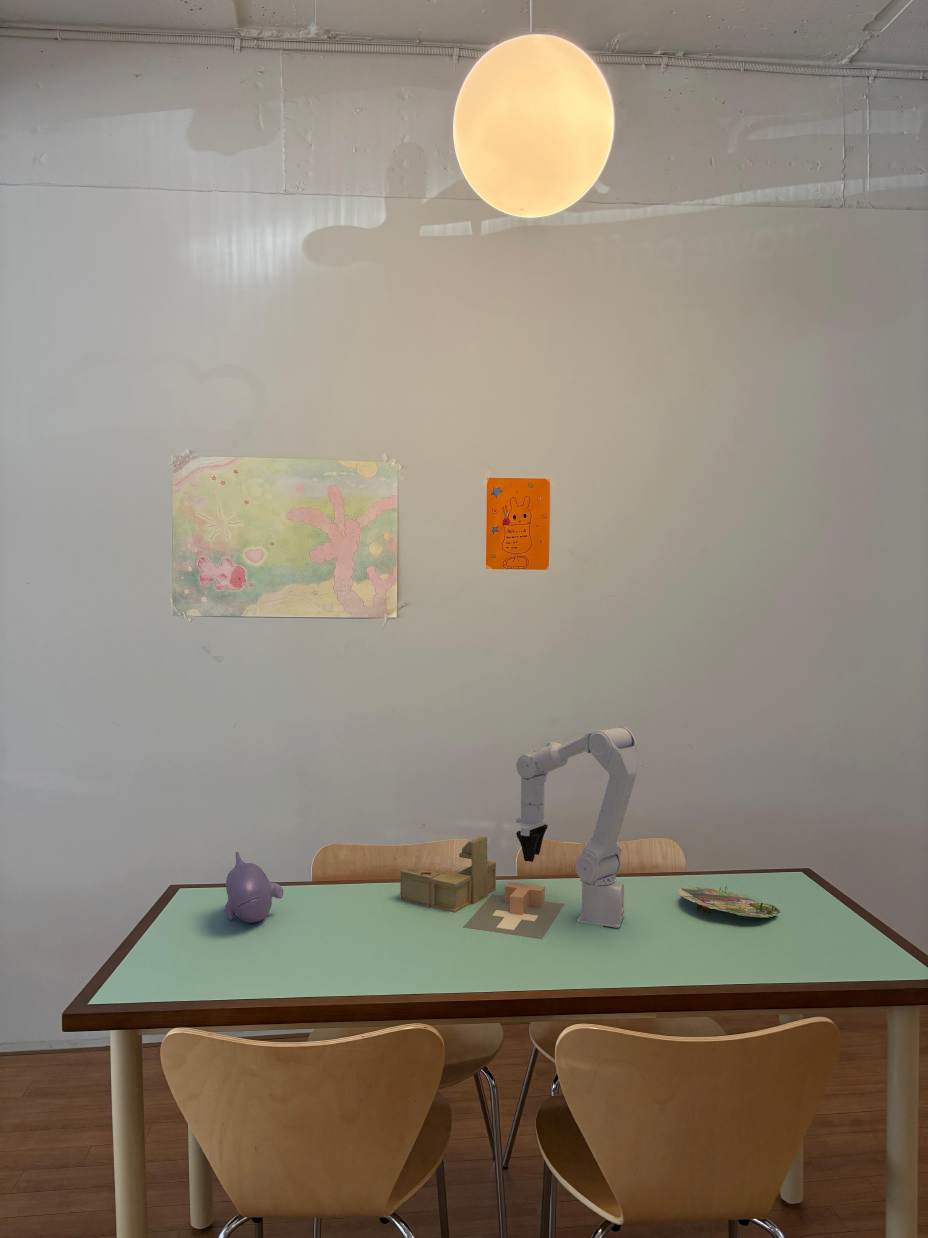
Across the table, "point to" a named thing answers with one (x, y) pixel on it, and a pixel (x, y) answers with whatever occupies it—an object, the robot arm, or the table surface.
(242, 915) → the toy whale
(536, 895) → the t block
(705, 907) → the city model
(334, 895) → the table surface
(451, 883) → the toy kitchen set
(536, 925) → the mat
